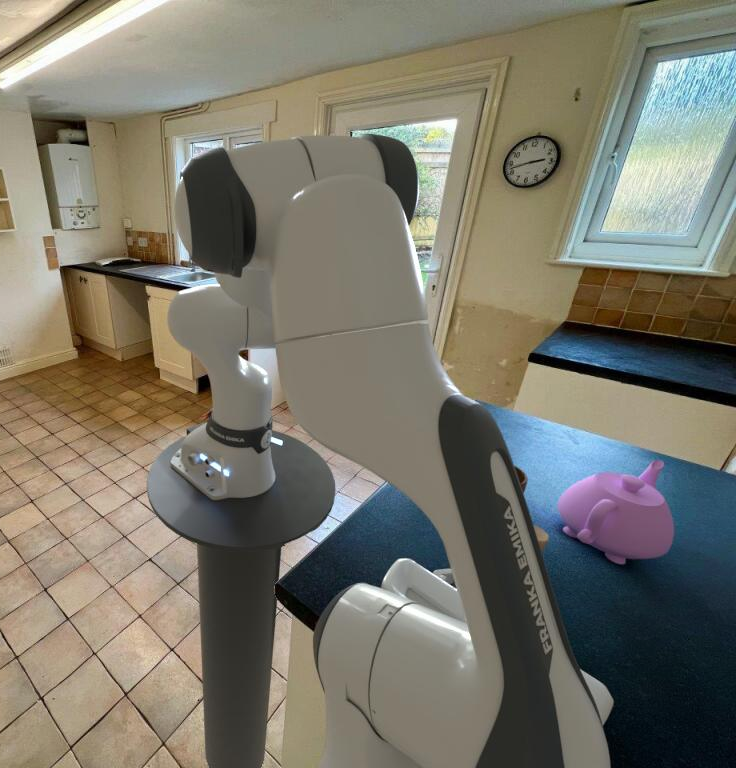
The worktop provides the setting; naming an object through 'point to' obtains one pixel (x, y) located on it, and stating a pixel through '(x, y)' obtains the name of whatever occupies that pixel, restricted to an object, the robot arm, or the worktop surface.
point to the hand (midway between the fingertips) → (505, 596)
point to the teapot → (619, 514)
